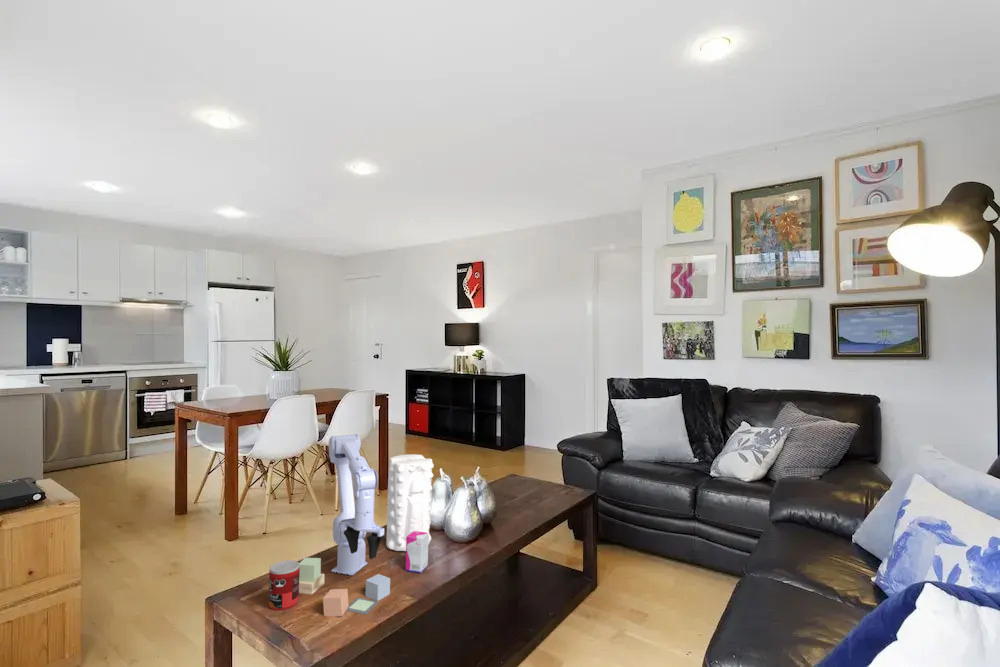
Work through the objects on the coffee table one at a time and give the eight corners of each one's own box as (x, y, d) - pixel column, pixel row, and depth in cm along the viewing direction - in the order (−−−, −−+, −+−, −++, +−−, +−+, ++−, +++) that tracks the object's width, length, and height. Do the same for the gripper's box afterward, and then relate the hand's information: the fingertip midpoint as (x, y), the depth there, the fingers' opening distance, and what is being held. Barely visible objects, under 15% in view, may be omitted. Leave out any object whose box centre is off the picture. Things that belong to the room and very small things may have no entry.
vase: (420, 532, 200) (422, 451, 200) (438, 547, 186) (440, 460, 187) (378, 540, 191) (381, 456, 191) (394, 557, 177) (396, 465, 178)
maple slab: (303, 582, 158) (304, 571, 158) (324, 585, 157) (324, 573, 157) (290, 593, 151) (290, 581, 151) (311, 596, 150) (312, 584, 150)
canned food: (264, 604, 145) (265, 565, 145) (292, 594, 150) (293, 557, 150) (274, 614, 139) (275, 574, 139) (303, 604, 145) (304, 566, 145)
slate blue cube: (377, 590, 154) (378, 573, 154) (389, 595, 151) (390, 578, 152) (365, 597, 150) (365, 580, 150) (377, 602, 147) (377, 585, 147)
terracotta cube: (331, 607, 144) (330, 589, 144) (348, 606, 143) (347, 588, 143) (324, 616, 139) (322, 598, 139) (341, 616, 138) (340, 597, 138)
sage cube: (304, 573, 157) (305, 557, 157) (320, 574, 156) (320, 558, 157) (297, 581, 152) (297, 564, 152) (313, 582, 151) (314, 565, 152)
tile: (357, 598, 149) (357, 596, 149) (379, 602, 147) (379, 601, 147) (343, 610, 142) (344, 608, 142) (365, 615, 140) (365, 613, 140)
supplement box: (428, 566, 171) (429, 532, 171) (421, 573, 165) (422, 538, 165) (412, 563, 173) (413, 530, 173) (404, 571, 167) (405, 536, 167)
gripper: (391, 510, 155) (390, 555, 154) (356, 502, 161) (355, 545, 161) (375, 517, 148) (374, 564, 148) (339, 508, 155) (338, 553, 155)
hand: (363, 555), depth 154 cm, fingers open, 7 cm apart
